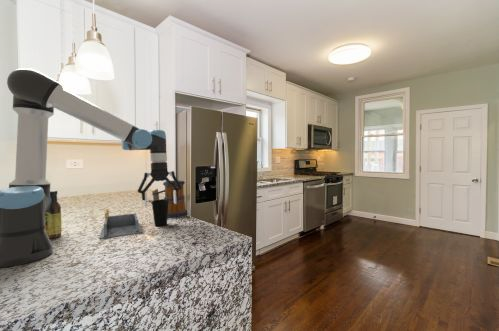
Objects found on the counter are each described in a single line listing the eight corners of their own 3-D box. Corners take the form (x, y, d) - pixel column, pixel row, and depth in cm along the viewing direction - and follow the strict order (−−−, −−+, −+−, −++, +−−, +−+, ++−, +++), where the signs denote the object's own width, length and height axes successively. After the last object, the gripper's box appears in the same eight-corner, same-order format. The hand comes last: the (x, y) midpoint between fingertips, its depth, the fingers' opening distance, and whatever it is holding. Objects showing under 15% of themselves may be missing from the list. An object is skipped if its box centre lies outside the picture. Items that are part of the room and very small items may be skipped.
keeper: (142, 232, 105) (141, 212, 105) (99, 239, 97) (98, 217, 97) (139, 223, 121) (138, 206, 121) (102, 228, 113) (101, 209, 113)
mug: (155, 221, 126) (153, 183, 125) (150, 216, 138) (149, 181, 138) (191, 216, 136) (190, 181, 135) (184, 211, 148) (183, 179, 148)
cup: (172, 224, 117) (171, 200, 117) (157, 228, 112) (156, 202, 112) (164, 222, 123) (163, 199, 122) (149, 225, 117) (149, 201, 117)
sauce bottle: (41, 237, 102) (40, 191, 102) (60, 233, 106) (58, 189, 106) (44, 240, 97) (42, 192, 97) (63, 236, 102) (61, 190, 102)
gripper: (182, 161, 126) (184, 201, 127) (130, 163, 114) (132, 207, 115) (186, 161, 119) (188, 203, 120) (130, 163, 108) (133, 209, 108)
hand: (161, 205), depth 117 cm, fingers open, 13 cm apart
